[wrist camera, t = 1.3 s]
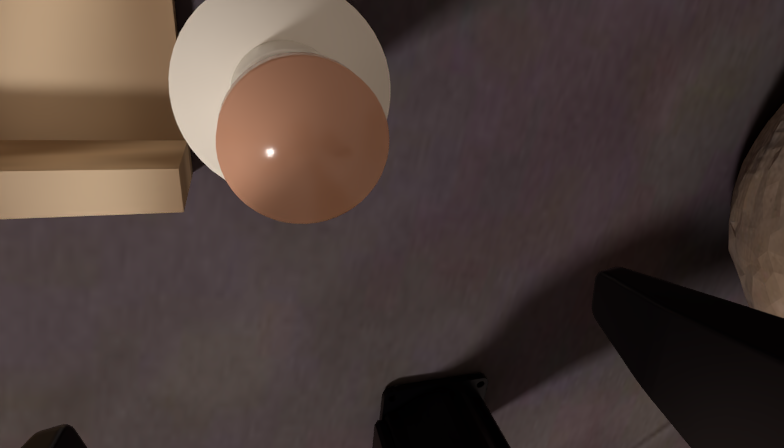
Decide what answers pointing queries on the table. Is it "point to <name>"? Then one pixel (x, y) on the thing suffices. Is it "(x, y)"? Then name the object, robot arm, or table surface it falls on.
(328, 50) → the bottle
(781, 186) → the ceramic bowl
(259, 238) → the table surface
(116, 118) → the cradle
